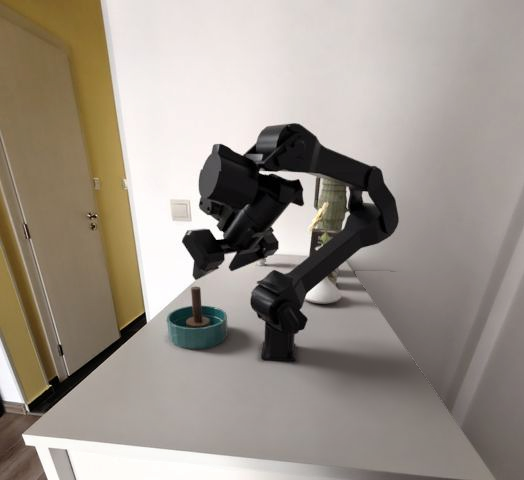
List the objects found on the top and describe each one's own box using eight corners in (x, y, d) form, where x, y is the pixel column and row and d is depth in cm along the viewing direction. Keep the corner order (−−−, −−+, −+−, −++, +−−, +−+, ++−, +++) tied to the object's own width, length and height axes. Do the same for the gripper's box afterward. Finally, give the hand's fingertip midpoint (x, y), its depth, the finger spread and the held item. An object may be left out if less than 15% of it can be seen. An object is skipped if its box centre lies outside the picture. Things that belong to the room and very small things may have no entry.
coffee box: (305, 286, 101) (310, 231, 93) (307, 280, 106) (313, 227, 98) (335, 289, 99) (343, 233, 91) (336, 283, 104) (344, 229, 97)
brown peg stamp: (214, 334, 70) (212, 289, 65) (194, 341, 67) (190, 293, 62) (202, 326, 73) (200, 282, 68) (183, 332, 70) (178, 286, 65)
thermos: (309, 267, 120) (321, 155, 103) (342, 271, 117) (360, 156, 100) (304, 273, 113) (315, 154, 96) (339, 278, 109) (357, 155, 92)
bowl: (221, 351, 64) (221, 330, 62) (161, 347, 65) (158, 326, 63) (231, 325, 75) (230, 306, 73) (178, 322, 75) (177, 303, 73)
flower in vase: (307, 290, 98) (317, 197, 86) (345, 297, 93) (361, 200, 81) (289, 303, 88) (296, 200, 76) (330, 313, 83) (345, 204, 71)
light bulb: (250, 262, 123) (250, 234, 118) (267, 262, 125) (268, 234, 120) (255, 267, 117) (255, 238, 112) (273, 266, 119) (274, 237, 114)
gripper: (267, 174, 59) (225, 234, 70) (183, 169, 46) (148, 244, 57) (302, 224, 58) (254, 277, 69) (226, 234, 45) (182, 297, 56)
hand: (213, 273), depth 63 cm, fingers open, 9 cm apart
